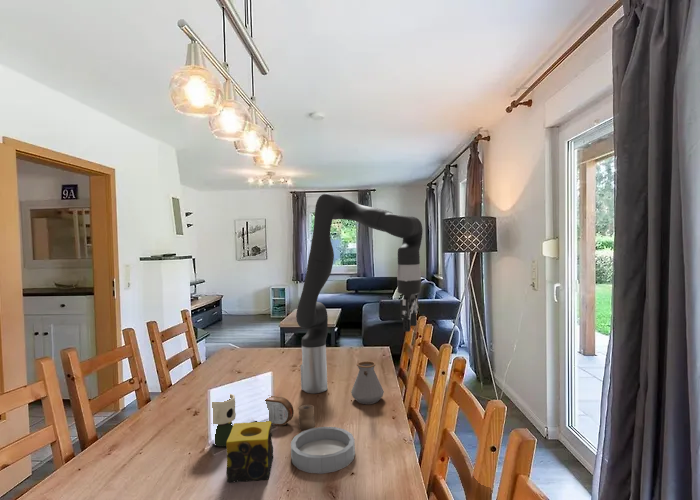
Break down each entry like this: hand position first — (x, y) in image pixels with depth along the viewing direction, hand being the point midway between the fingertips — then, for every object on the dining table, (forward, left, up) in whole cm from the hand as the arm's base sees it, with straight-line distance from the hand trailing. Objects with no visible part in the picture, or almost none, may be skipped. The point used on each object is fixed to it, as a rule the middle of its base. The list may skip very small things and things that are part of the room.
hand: (410, 328), depth 129 cm
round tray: (-10, -35, -27) cm, 46 cm away
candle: (-22, -49, -28) cm, 61 cm away
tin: (-36, -27, -28) cm, 53 cm away
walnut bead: (-24, -24, -27) cm, 44 cm away
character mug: (-39, -43, -28) cm, 65 cm away
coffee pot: (-16, -2, -28) cm, 32 cm away
